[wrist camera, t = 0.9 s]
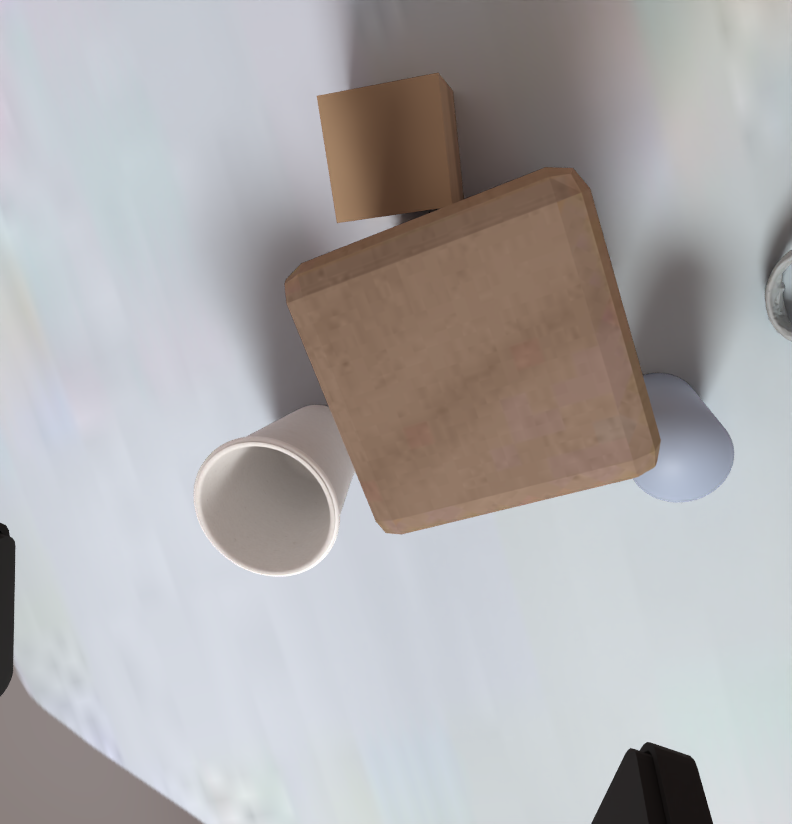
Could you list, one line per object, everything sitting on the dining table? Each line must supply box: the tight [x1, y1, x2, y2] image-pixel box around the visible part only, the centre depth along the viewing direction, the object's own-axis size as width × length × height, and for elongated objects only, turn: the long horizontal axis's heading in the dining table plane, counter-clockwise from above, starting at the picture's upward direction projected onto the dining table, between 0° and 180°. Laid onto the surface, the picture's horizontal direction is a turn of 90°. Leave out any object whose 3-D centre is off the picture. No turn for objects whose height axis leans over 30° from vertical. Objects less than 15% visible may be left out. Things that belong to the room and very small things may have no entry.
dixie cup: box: [194, 405, 355, 576], centre depth 39 cm, size 8×8×10 cm
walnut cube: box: [317, 73, 464, 223], centre depth 34 cm, size 6×6×6 cm
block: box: [285, 167, 661, 534], centre depth 29 cm, size 10×10×20 cm
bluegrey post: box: [633, 373, 734, 502], centre depth 36 cm, size 5×5×7 cm
